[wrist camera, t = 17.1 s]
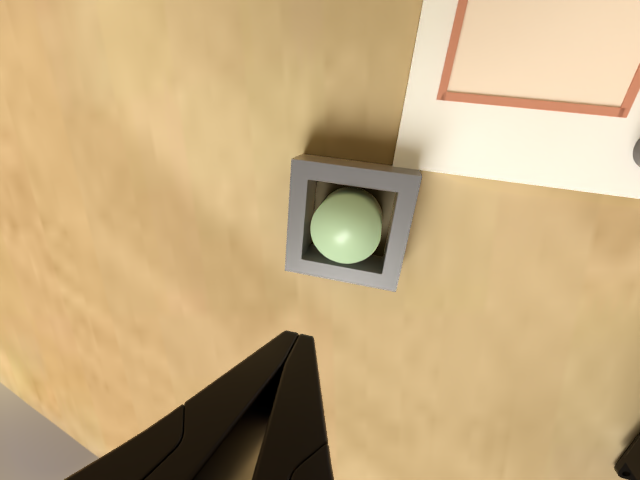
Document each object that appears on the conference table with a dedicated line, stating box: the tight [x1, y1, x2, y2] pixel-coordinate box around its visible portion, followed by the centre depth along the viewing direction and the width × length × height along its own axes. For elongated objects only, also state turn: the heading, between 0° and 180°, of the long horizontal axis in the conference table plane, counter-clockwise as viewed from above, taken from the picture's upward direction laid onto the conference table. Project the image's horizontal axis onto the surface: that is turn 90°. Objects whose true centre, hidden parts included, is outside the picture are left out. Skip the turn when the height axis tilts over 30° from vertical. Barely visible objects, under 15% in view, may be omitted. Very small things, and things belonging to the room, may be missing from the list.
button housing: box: [285, 154, 422, 292], centre depth 19 cm, size 7×7×2 cm
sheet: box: [392, 0, 640, 199], centre depth 14 cm, size 15×13×1 cm
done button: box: [310, 187, 382, 264], centre depth 18 cm, size 4×4×2 cm
